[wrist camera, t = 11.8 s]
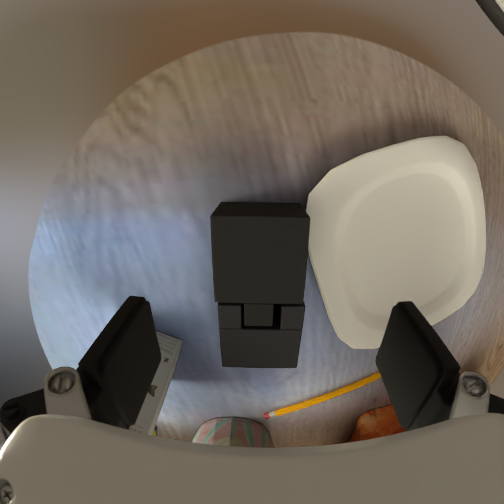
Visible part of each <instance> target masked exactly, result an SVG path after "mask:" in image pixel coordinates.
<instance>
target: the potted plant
mask: <svg viewBox="0 0 504 504" xmlns="http://www.w3.org/2000/svg"><path fill="white" fill-rule="evenodd" d="M192 442H194V443H202V444H210V445H221V446H234V447H254V448H274V446H273V442H272V439H271V436H270V433H269V431H268V430H267V429H266V428H265V427H264V426H263V425H262V424H260V423H257V422H255V421H251V420H248V419H244V418H236V417H223V418H216V419H213V420H210V421H207V422H205V423H203V424H202V425H201V426H200V428H199V429H198V431H197V433H196V435H195V437H194V439H193V441H192Z"/></svg>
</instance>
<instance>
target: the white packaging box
mask: <svg viewBox="0 0 504 504" xmlns="http://www.w3.org/2000/svg"><path fill="white" fill-rule="evenodd" d="M156 334H157V339H158V343H159V347H160V351H161V362H160V364H159V367H158V369H157V371H156V374H155V376H154V379H153V381H152V383H151V386H150V388H149V391H148V393H147V395H146V398H145V400H144V403H143V405H142V408H141V410H140V413H139V415H138V418H137V420H136V423H135V424H134V425H133V426H132V425H131V426H130V428H129V430H131V431H135V432H139V433H144V434H149V435H152V434H153V431H154V428H155V425H156V422H157V419H158V416H159V413H160V410H161V407H162V405H163V402H164V399H165V396H166V393H167V390H168V387H169V385H170V382H171V379H172V376H173V373H174V370H175V367H176V364H177V360H178V357H179V353H180V350H181V347H182V344H183V341H182V340H180V339H177V338H174V337H171V336H168V335H165V334H163V333H160V332H158V331H156Z"/></svg>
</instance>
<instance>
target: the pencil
mask: <svg viewBox="0 0 504 504" xmlns="http://www.w3.org/2000/svg"><path fill="white" fill-rule="evenodd" d="M379 378H381V375H380V372H377V373H375V374H373V375H371V376H369V377H367V378H364V379H362V380H360V381H357V382H355V383H353V384H350V385H348V386H345V387H343V388H340V389H338V390H335V391H333V392H330V393H327V394H325V395H322V396H319V397H316V398H314V399H311V400H308V401H305V402H302V403H299V404H296V405H292V406H289V407H286V408H282V409H279V410H276V411H272V412H268V413H265V414H264V417H265V418H266V419H268V418H272V417H276V416H279V415H283V414H286V413H290V412H293V411H296V410H299V409H303V408H306V407H309V406H312V405H315V404H318V403H320V402H323V401H326V400H329V399H332V398H334V397H337V396H339V395H342V394H345V393H347V392H349V391H352V390H354V389H357V388H359V387H361V386H364V385H366V384H368V383H371V382H373V381H375V380H377V379H379Z"/></svg>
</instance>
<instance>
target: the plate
mask: <svg viewBox="0 0 504 504" xmlns="http://www.w3.org/2000/svg"><path fill="white" fill-rule="evenodd" d="M306 212H307V214H308V215H309V217H310V231H309V244H308V252H309V257H310V261H311V264H312V268H313V271H314V274H315V277H316V281H317V284H318V287H319V291H320V294H321V297H322V300H323V303H324V306H325V309H326V312H327V315H328V318H329V320H330V322H331V324H332V326H333V328H334V330H335V332H336V334H337V336H338V338H339V339H341V340H342V341H343V342H345V343H346V344H347V345H349V346H350V347H351V348H353V349H376V348H379V347H380V345H381V342H382V339H383V336H384V333H385V330H386V327H387V324H388V321H389V317H390V314H391V311H392V308H393V306H395V305H396V304H397V303H398V302H401V301H412V302H413V303H414V304H415V306H416V307H417V308H418V309H419V311H420V312H421V313H422V315H423V316H424V317H425V318H426V320H427V321H428V322H429V324H430V325H431V326H432V325H434V324H436V323H438V322H440V321H442V320H443V319H445V318H446V317H448V316H449V315H451V314H452V313H454V312H455V311H457V310H458V309H459V308H461V307H462V306H463V305H464V304H465V303H466V302H467V300H468V299H469V298H470V297H471V296H472V295H473V293H474V292H475V291H476V289H477V286H478V284H479V281H480V278H481V276H482V273H483V269H484V261H485V251H486V222H485V209H484V199H483V192H482V187H481V182H480V178H479V173H478V169H477V165H476V163H475V161H474V160H473V158H472V156H471V155H470V153H469V151H468V149H467V148H466V146H465V145H464V144H463V143H461V142H459V141H457V140H454V139H452V138H450V137H448V136H431V137H421V138H417V139H413V140H409V141H405V142H401V143H397V144H393V145H390V146H387V147H384V148H380V149H377V150H374V151H371V152H368V153H365V154H362V155H360V156H357V157H355V158H353V159H351V160H349V161H347V162H345V163H343V164H341V165H339V166H337V167H335V168H333V169H331V170H329V172H328V173H327V174H326V175H325V176H324V177H323V178H322V179H321V180H320V182H319V183H318V184H317V185H316V186H315V187H314V188H313V189H312V190H311V191H310V193H309V194H308V200H307V206H306Z"/></svg>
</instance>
